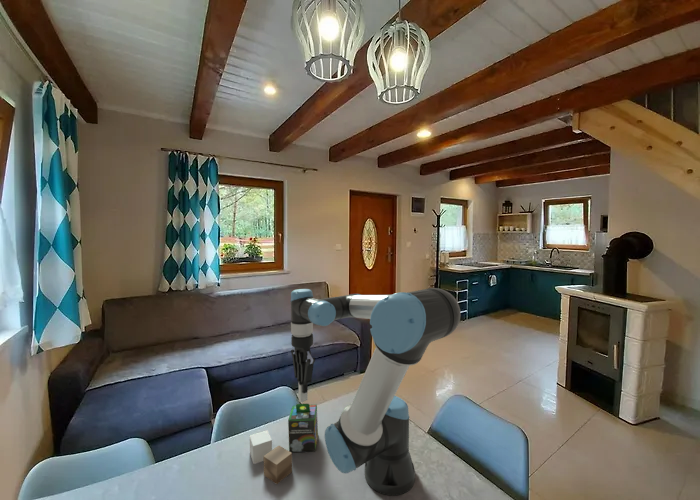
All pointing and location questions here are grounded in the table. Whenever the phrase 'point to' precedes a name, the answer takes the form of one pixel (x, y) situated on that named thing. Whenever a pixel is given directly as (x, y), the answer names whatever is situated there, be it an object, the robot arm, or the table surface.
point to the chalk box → (303, 428)
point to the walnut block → (277, 464)
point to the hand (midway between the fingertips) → (303, 400)
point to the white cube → (260, 446)
